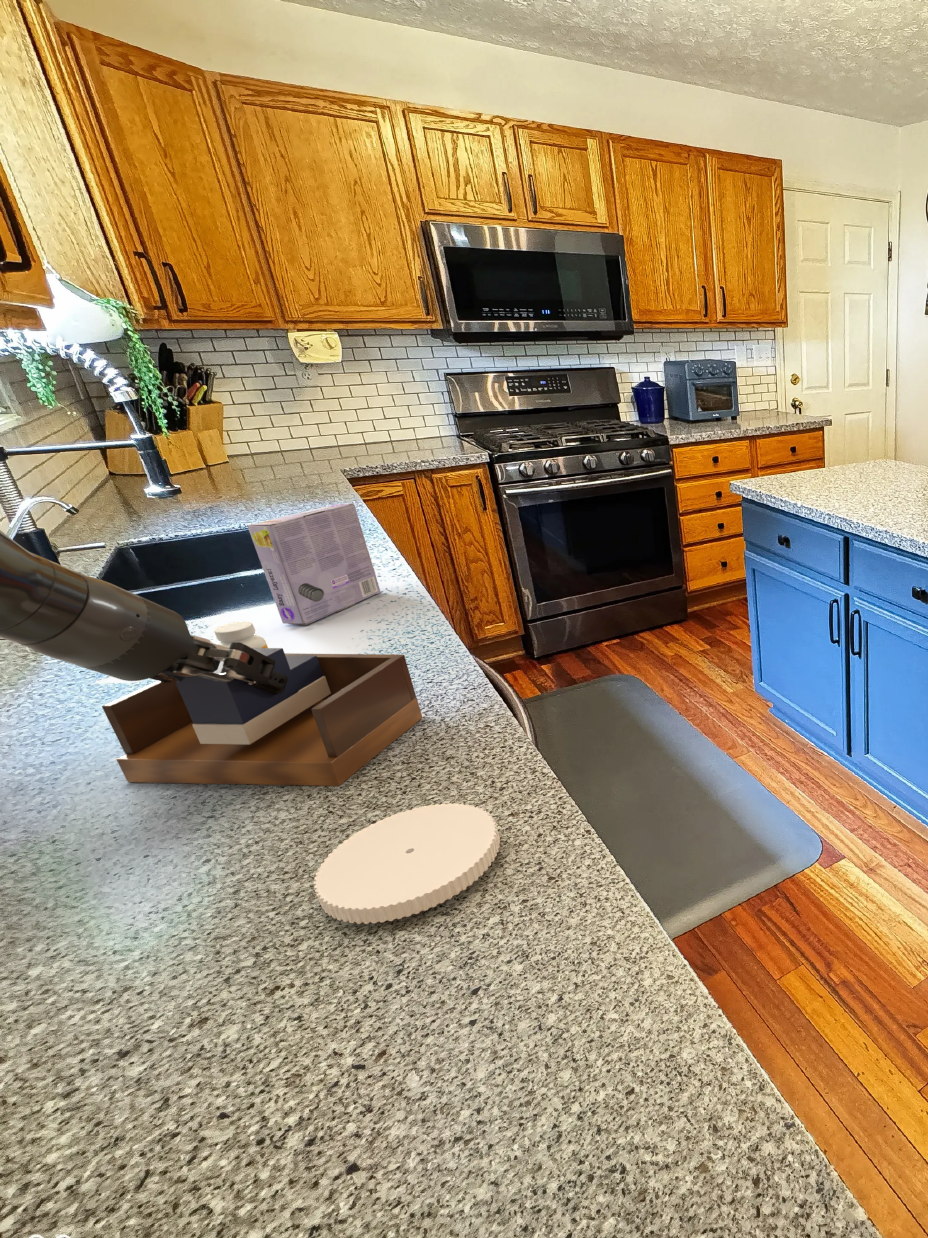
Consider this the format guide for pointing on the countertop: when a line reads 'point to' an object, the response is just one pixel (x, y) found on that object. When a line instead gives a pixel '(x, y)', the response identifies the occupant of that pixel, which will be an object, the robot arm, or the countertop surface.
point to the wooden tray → (288, 755)
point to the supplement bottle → (239, 635)
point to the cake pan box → (315, 562)
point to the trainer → (252, 700)
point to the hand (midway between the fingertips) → (255, 685)
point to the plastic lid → (407, 863)
